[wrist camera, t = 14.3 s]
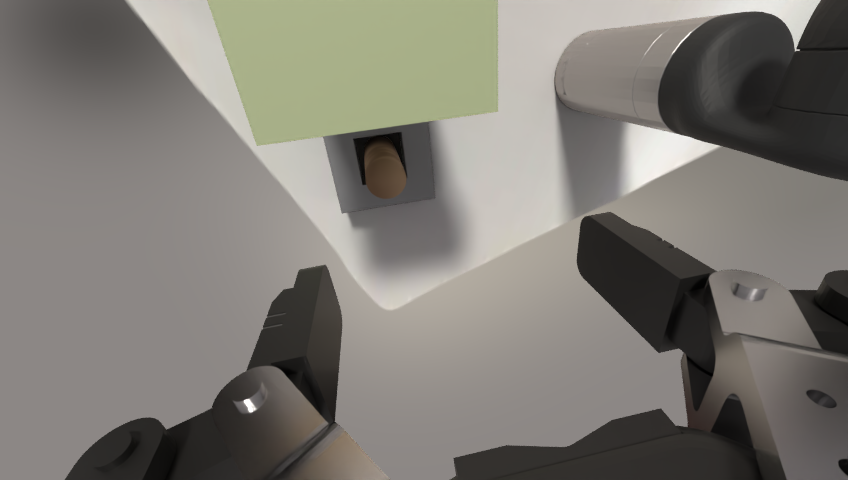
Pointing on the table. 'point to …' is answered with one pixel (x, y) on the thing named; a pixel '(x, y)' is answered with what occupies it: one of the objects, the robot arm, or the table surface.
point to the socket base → (361, 76)
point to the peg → (383, 168)
